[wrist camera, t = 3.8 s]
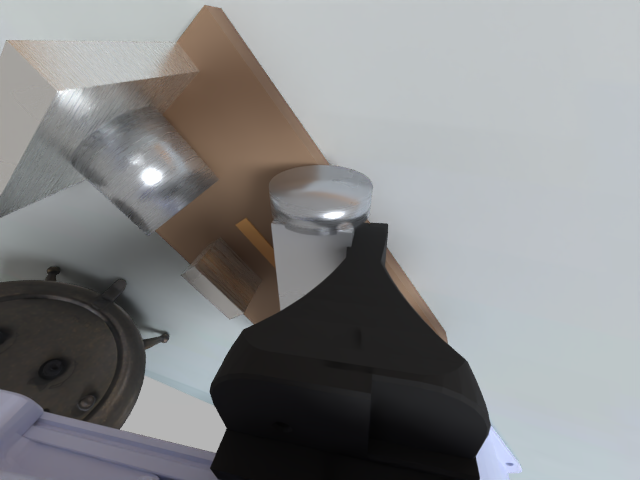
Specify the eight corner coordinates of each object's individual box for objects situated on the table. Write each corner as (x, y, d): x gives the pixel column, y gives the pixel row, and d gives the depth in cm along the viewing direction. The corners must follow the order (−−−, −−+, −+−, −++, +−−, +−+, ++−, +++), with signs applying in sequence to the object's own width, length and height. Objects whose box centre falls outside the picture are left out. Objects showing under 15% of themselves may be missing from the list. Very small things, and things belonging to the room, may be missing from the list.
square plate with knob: (335, 245, 12) (307, 343, 8) (244, 289, 15) (190, 378, 11) (177, 42, 9) (5, 40, 5) (98, 145, 12) (-51, 197, 8)
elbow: (357, 346, 16) (348, 425, 12) (294, 334, 16) (269, 407, 13) (381, 169, 10) (375, 230, 7) (281, 161, 10) (232, 214, 7)
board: (445, 331, 15) (448, 349, 14) (314, 364, 20) (311, 378, 19) (221, 8, 9) (203, 4, 8) (102, 157, 13) (83, 165, 13)
